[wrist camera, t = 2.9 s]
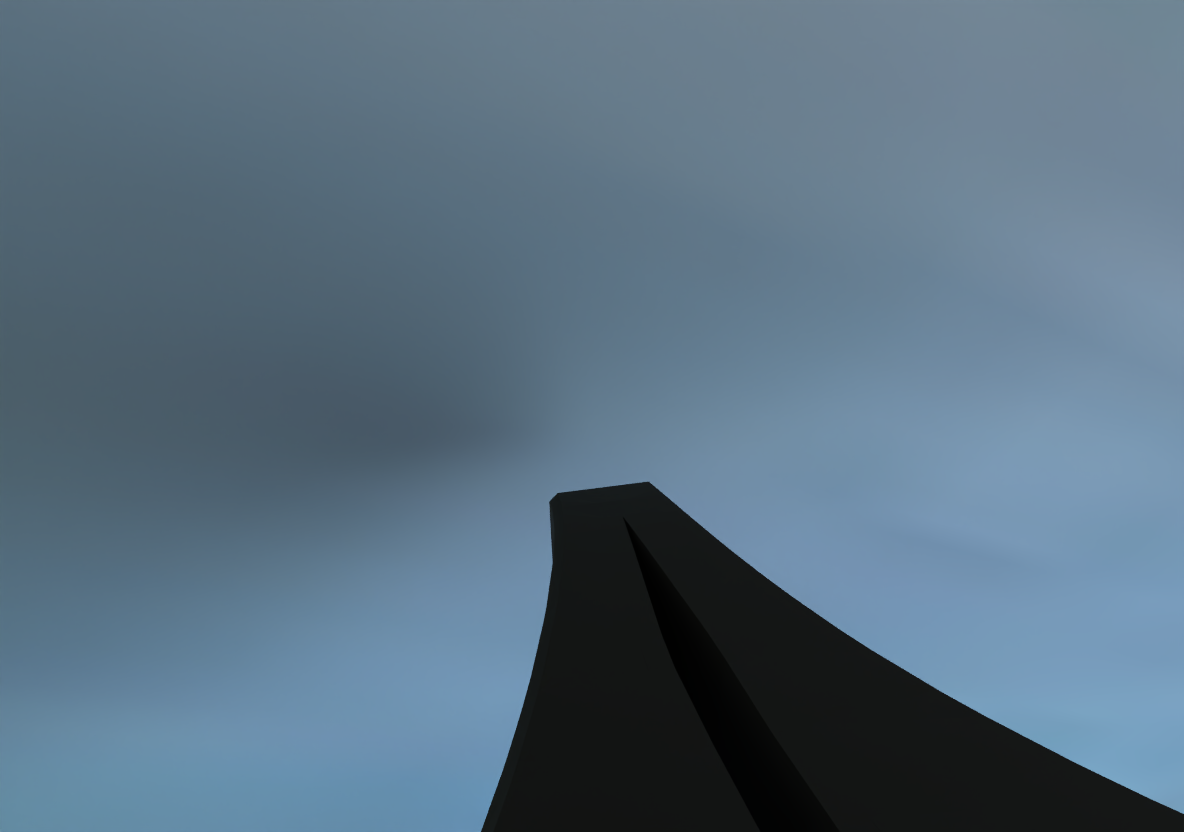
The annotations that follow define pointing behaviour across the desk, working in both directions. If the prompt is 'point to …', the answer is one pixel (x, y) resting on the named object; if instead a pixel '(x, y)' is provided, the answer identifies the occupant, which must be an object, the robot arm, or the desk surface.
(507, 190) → the desk surface
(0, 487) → the desk surface
